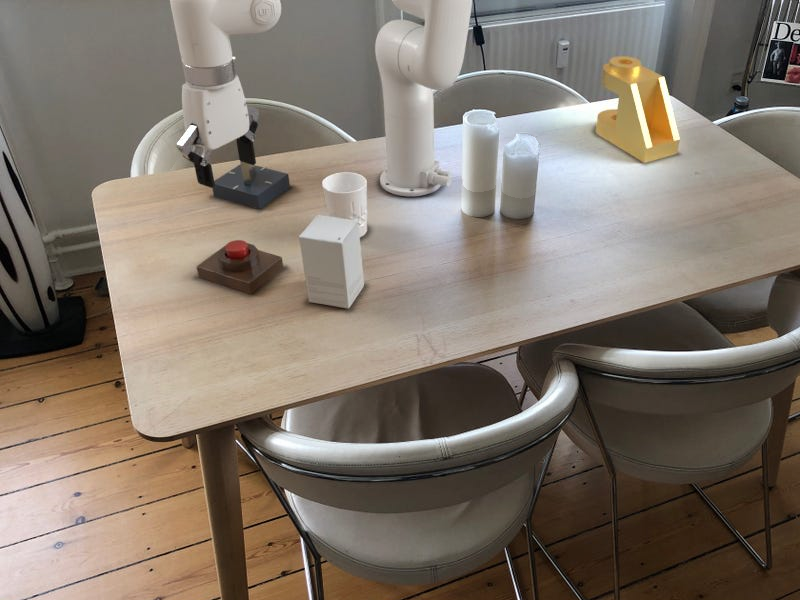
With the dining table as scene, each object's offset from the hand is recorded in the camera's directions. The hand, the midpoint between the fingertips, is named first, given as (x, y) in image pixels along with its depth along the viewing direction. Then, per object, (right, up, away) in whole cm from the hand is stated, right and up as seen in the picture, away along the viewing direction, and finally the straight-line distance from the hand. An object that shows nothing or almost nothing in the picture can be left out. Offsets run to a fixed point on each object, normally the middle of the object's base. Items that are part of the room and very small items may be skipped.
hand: (227, 173), depth 138 cm
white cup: (+18, -7, +16) cm, 25 cm away
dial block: (-3, +2, +27) cm, 27 cm away
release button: (+1, -13, +2) cm, 13 cm away
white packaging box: (+18, -20, 0) cm, 27 cm away
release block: (+1, -16, +5) cm, 17 cm away
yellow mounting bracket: (+76, +18, +48) cm, 92 cm away
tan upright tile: (-3, +5, +25) cm, 25 cm away
